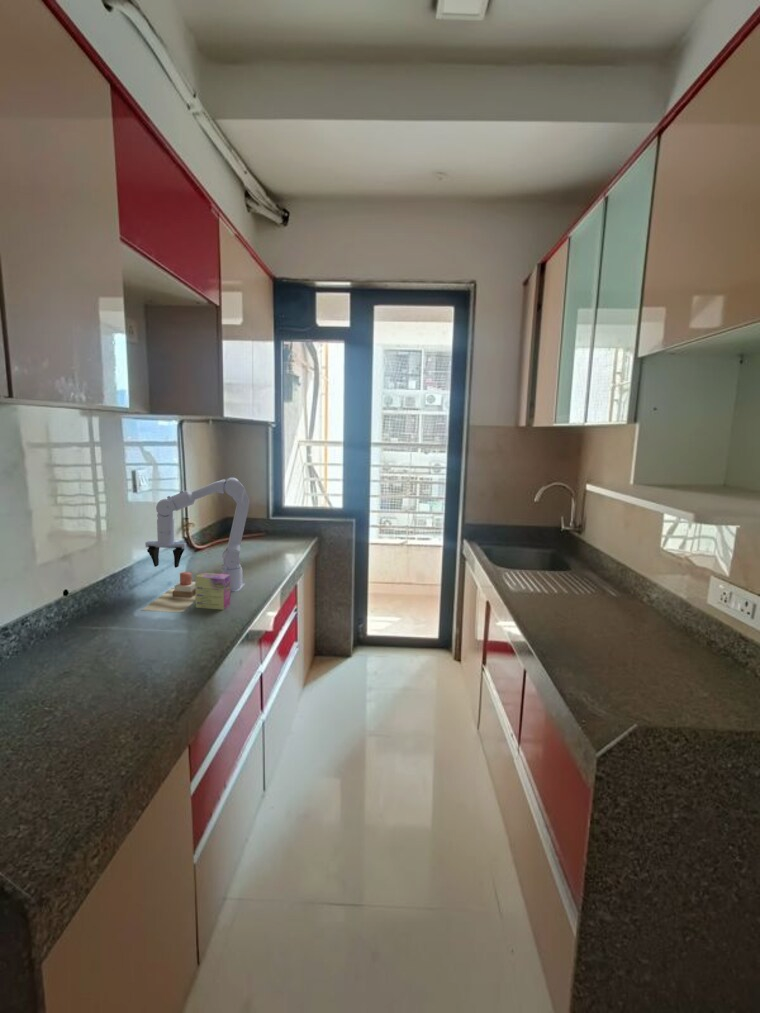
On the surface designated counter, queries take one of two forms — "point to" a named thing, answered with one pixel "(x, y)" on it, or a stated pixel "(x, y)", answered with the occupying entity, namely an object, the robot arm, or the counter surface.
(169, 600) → the board
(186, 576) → the cylinder
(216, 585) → the box
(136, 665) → the counter surface
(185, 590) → the top block
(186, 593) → the bottom block
